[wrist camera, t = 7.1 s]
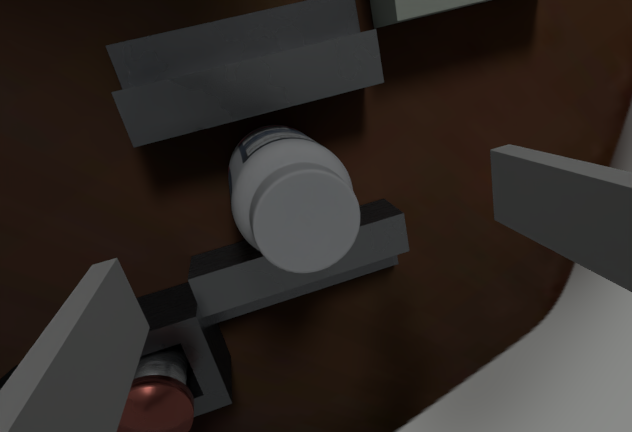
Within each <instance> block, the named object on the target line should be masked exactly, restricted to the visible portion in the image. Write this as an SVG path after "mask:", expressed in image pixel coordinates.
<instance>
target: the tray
mask: <svg viewBox="0 0 632 432" xmlns="http://www.w3.org/2000/svg"><path fill="white" fill-rule="evenodd" d="M487 1H491V0H370V5H371V11H372V18H373V25H374V28H379V27H383V26H387V25H391V24H395V23H399V22H404V21H408V20H412V19H416V18H420V17H424V16H429V15H433V14H437V13H441V12H445V11H449V10H454V9H458V8H462V7H466V6H470V5H475V4H479V3H483V2H487Z"/></svg>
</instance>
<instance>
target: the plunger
mask: <svg viewBox="0 0 632 432" xmlns="http://www.w3.org/2000/svg"><path fill="white" fill-rule="evenodd" d="M188 364H189V361H188V359H187V356H186V354H185V352H184V350H183V347H182V345H181V343H180V344H177V345H174V346H171V347H168V348H165V349H162V350H158V351H155V352H152V353H149V354H146V355H143V356H141V357H140V360H139V363H138V366H137V369H136V372H135V375H134V379H133V382H132V385H131V388H130V391H129V394H128V397H127V401H126V404H125V407H124V410H123V413H122V416H121V419H120V422H119V426H118V429H117V432H189V430H190V428H191V426H192V423H193V417H194V397H193V394H192V392H191V391H190V389H189V388H188V387H187V386H186V381H187V372H188Z"/></svg>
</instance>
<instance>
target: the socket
mask: <svg viewBox="0 0 632 432" xmlns="http://www.w3.org/2000/svg"><path fill="white" fill-rule="evenodd" d="M106 48H107V51H108V53H109V56H110V58H111V61H112V63H113V66H114V68H115V71H116V74H117V76H118V79H119V81H120V84H121V86H122V89H123V90H119V91H115V92H111V93H112V95H113V98H114V100H115V103H116V105H117V108H118V110H119V113H120V115H121V117H122V120H123V122H124V125H125V127H126V130H127V132H128V135H129V137H130V140H131V142H132V144H133V147H138V146H141V145H145V144H149V143H153V142H157V141H161V140H164V139H168V138H172V137H176V136H180V135H184V134H188V133H191V132H195V131H199V130H203V129H207V128H211V127H215V126H218V125H222V124H226V123H230V122H234V121H238V120H241V119H245V118H249V117H253V116H257V115H261V114H265V113H268V112H272V111H276V110H280V109H284V108H288V107H291V106H295V105H299V104H303V103H307V102H311V101H315V100H318V99H322V98H326V97H330V96H334V95H338V94H342V93H345V92H349V91H353V90H357V89H361V88H365V87H368V86H372V85H376V84H380V83H384V78H383V71H382V65H381V58H380V51H379V45H378V38H377V31H376V29H373V30H369V31H365V32H361V33H360V28H359V22H358V16H357V9H356V3H355V0H307V1H303V2H298V3H294V4H289V5H285V6H280V7H276V8H271V9H267V10H263V11H258V12H254V13H249V14H245V15H240V16H236V17H231V18H227V19H222V20H218V21H214V22H209V23H205V24H200V25H196V26H191V27H187V28H182V29H178V30H173V31H169V32H165V33H160V34H156V35H151V36H147V37H142V38H138V39H133V40H129V41H124V42H120V43H116V44H111V45H107V46H106ZM359 208H360V227H359V232H358V235H357V237H356V239H355V242H354V244H353V245H352V247H351V248H350V249H349V251H348V252H347V253H346V254H345V255H344V256H343V257H342V258H341V259H340V260H339V261H338V262H336V263H335V264H333V265H331V266H330V267H328V268H325V269H323V270H320V271H317V272H312V273H294V272H288V271H285V270H283V269H280V268H278V267H277V266H275V265H273V264H272V263H271V262H269V261H268V260H267V259H266V258H265V257H264V256H263V255H262V253H261V252H260V251H259V250H257V249H256V248H254V247H253V246H252V245H251V244H249V243H248V242H247V240H245V241H242V242H238V243H235V244H232V245H228V246H225V247H222V248H218V249H215V250H212V251H209V252H205V253H202V254H199V255H195V256H192V257H191V263H190V269H189V275H188V282H189V284H190V287H191V289H192V291H193V294H194V296H195V299H196V301H197V304H198V306H199V309H200V311H201V314H202V316H203V317H206V316H209V315H212V316H213V318H214V321H215V323H218V322H221V321H224V320H228V319H231V318H234V317H237V316H240V315H243V314H246V313H249V312H252V311H255V310H258V309H261V308H264V307H267V306H270V305H274V304H277V303H280V302H283V301H286V300H289V299H292V298H295V297H298V296H301V295H304V294H307V293H310V292H313V291H316V290H320V289H323V288H326V287H329V286H332V285H335V284H338V283H341V282H344V281H347V280H350V279H353V278H356V277H359V276H362V275H366V274H369V273H372V272H375V271H378V270H381V269H384V268H387V267H390V266H393V265H396V264H398V259H397V255H398V254H401V253H404V252H407V251H409V245H408V238H407V232H406V225H405V218H404V213H403V212H402V211H400V210H399V209H398V208H396V207H395V206H394V205H392V204H391V203H390V202H388V201H387V200H385V199H381V200H378V201H374V202H371V203H368V204H365V205H361V206H359Z"/></svg>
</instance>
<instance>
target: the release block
mask: <svg viewBox="0 0 632 432" xmlns="http://www.w3.org/2000/svg"><path fill="white" fill-rule="evenodd" d="M136 299H137V301H138V303H139V305H140V308H141V310H142V312H143V314H144V316H145V318H146V320H147V322H148V325H149V327H150V328H149V332H148V335H147V338H146V341H145V344H144V347H143V350H142V353H141V356H143V355H146V354H149V353H152V352H155V351H158V350H162V349H165V348H168V347H171V346H174V345H177V344H180V343H181V345H182V347H183V350H184V352H185V354H186V356H187V359H188V361H189V364H188V372H187V381H186V386H187V387H188V388H189V389H190V391H191V392H192V394H193V397H194V417H196V416H198V415H201V414H204V413H207V412H210V411H213V410H215V409H218V408H221V407H224V406H227V405H229V404H232V380H231V356H230V353H229V351H228V348H227V346H226V343H225V340H224V338H223V335H222V333H221V330H220V328H219V325H218V323H215V321H214V318H213V316H212V315H209V316H206V317H203V316H202V314H201V311H200V309H199V306H198V304H197V301H196V299H195V296H194V294H193V291H192V289H191V287H190V284H189V282H187V283H184V284H181V285H177V286H174V287H171V288H168V289H164V290H161V291H158V292H155V293H152V294H148V295H145V296H142V297H139V298H136Z"/></svg>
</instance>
